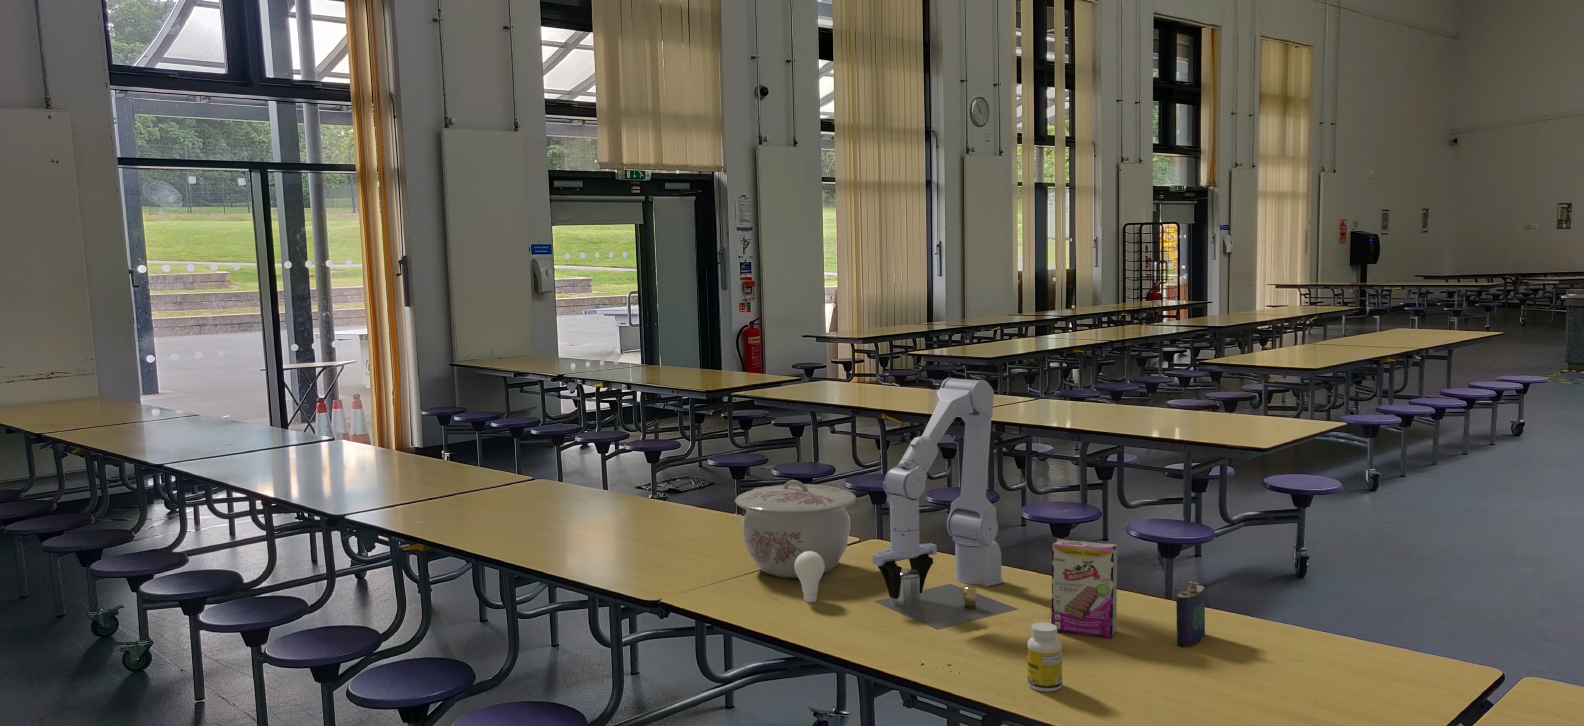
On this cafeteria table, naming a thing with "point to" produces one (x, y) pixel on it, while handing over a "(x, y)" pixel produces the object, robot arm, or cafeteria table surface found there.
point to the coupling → (908, 588)
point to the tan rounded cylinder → (969, 597)
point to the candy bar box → (1084, 587)
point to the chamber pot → (795, 525)
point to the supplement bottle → (1044, 658)
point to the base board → (947, 607)
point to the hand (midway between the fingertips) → (905, 594)
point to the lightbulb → (809, 573)
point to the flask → (1190, 615)
